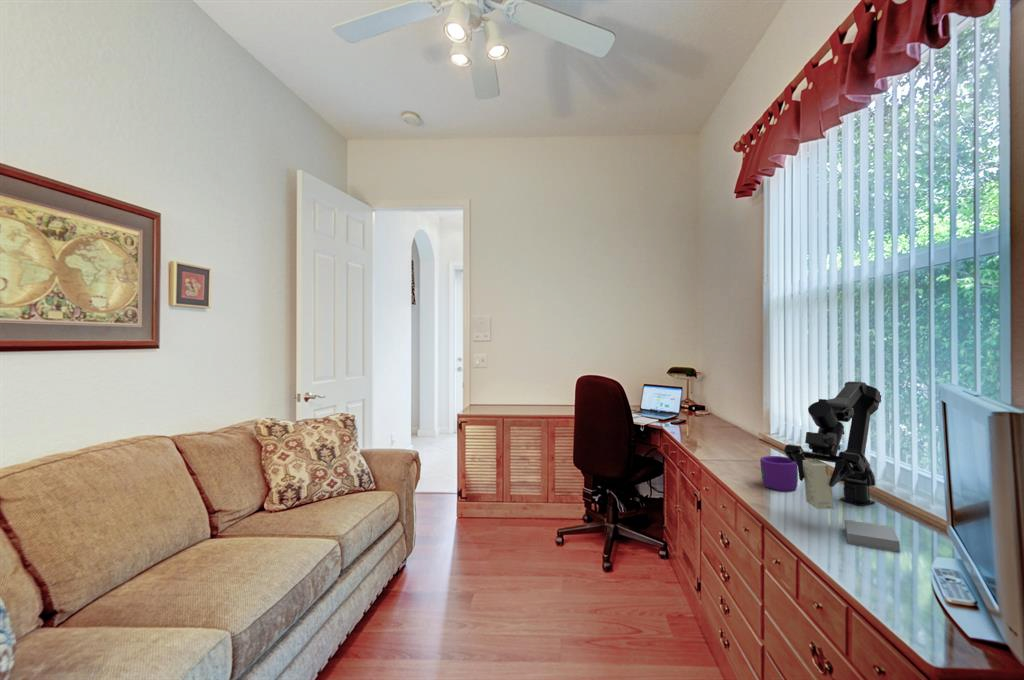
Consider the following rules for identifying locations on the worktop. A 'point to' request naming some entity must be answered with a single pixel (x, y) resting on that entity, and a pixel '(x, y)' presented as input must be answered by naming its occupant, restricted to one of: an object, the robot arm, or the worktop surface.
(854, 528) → the flat gray square pad
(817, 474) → the skincare box
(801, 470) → the robot arm
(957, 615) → the worktop surface
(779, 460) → the purple oval open container
